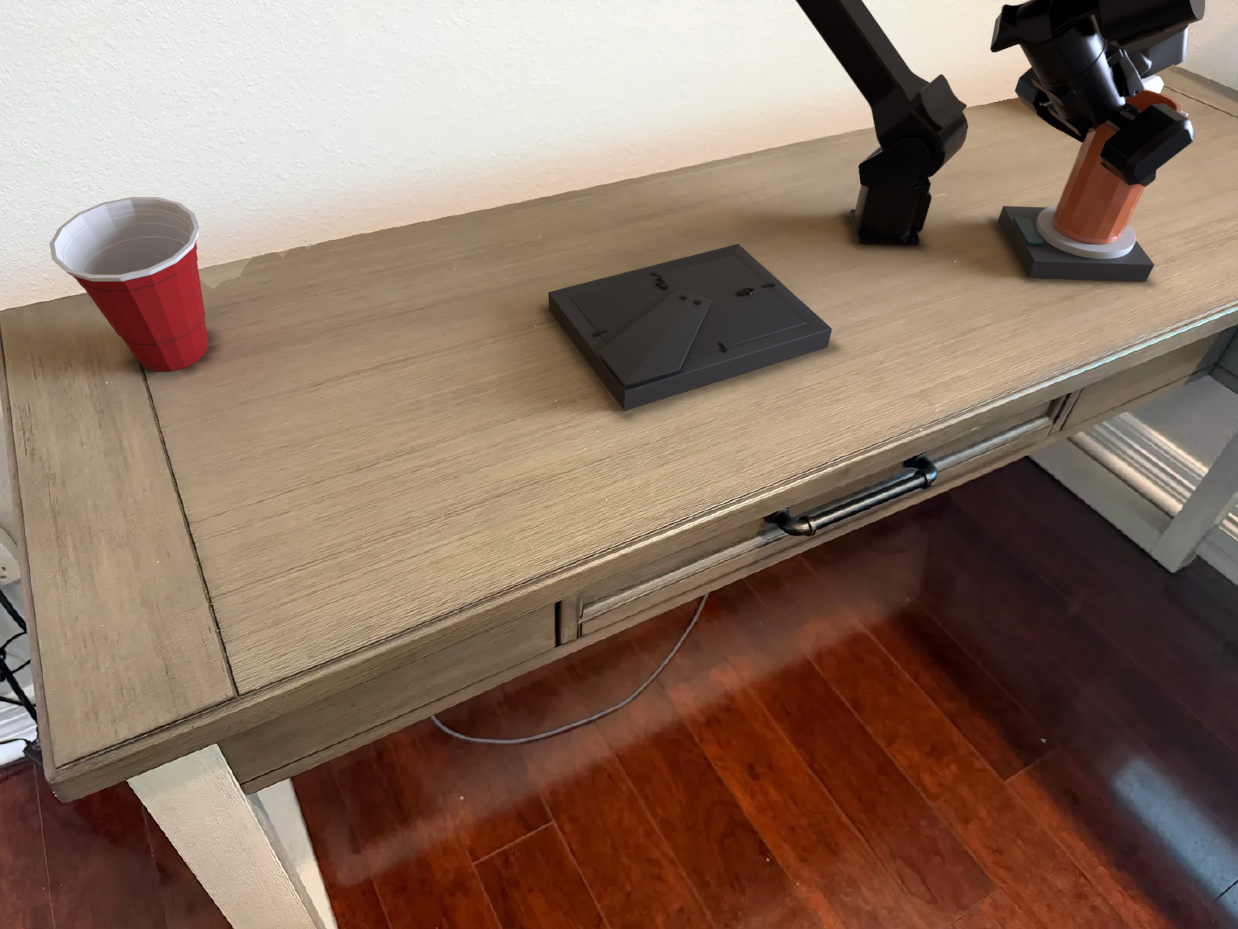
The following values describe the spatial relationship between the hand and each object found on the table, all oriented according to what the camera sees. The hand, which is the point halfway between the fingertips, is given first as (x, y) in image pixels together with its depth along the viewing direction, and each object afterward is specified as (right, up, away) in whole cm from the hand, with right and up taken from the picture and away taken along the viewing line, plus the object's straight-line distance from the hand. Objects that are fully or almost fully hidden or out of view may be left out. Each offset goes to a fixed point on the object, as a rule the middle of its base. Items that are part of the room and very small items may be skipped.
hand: (1126, 164), depth 88 cm
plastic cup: (-89, -20, -10) cm, 91 cm away
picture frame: (-44, -17, -5) cm, 47 cm away
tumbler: (-2, -5, +4) cm, 7 cm away
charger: (+17, +17, +31) cm, 40 cm away
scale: (-2, -7, +6) cm, 10 cm away
